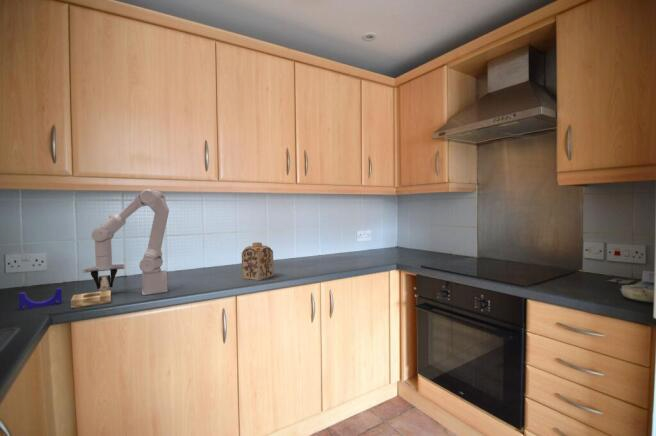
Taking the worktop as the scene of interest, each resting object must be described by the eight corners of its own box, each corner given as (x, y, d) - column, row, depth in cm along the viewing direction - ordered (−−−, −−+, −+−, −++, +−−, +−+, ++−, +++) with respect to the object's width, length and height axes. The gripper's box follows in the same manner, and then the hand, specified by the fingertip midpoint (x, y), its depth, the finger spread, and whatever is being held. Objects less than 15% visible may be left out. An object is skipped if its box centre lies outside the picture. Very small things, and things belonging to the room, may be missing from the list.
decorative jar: (241, 278, 166) (240, 243, 165) (256, 274, 176) (255, 241, 175) (260, 281, 160) (259, 244, 160) (274, 276, 170) (273, 241, 170)
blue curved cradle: (62, 301, 130) (61, 286, 130) (61, 304, 127) (61, 288, 126) (21, 307, 123) (20, 291, 123) (19, 310, 119) (18, 294, 119)
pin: (110, 292, 142) (110, 274, 142) (110, 294, 138) (110, 276, 138) (99, 294, 140) (98, 275, 139) (99, 296, 136) (98, 277, 136)
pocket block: (110, 297, 134) (110, 290, 134) (110, 303, 126) (110, 295, 126) (73, 302, 128) (73, 294, 128) (71, 308, 119) (70, 300, 119)
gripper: (123, 253, 146) (124, 283, 146) (83, 256, 138) (84, 288, 138) (124, 255, 140) (125, 286, 140) (81, 258, 132) (83, 291, 132)
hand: (104, 287), depth 139 cm, fingers closed on pin, 4 cm apart
